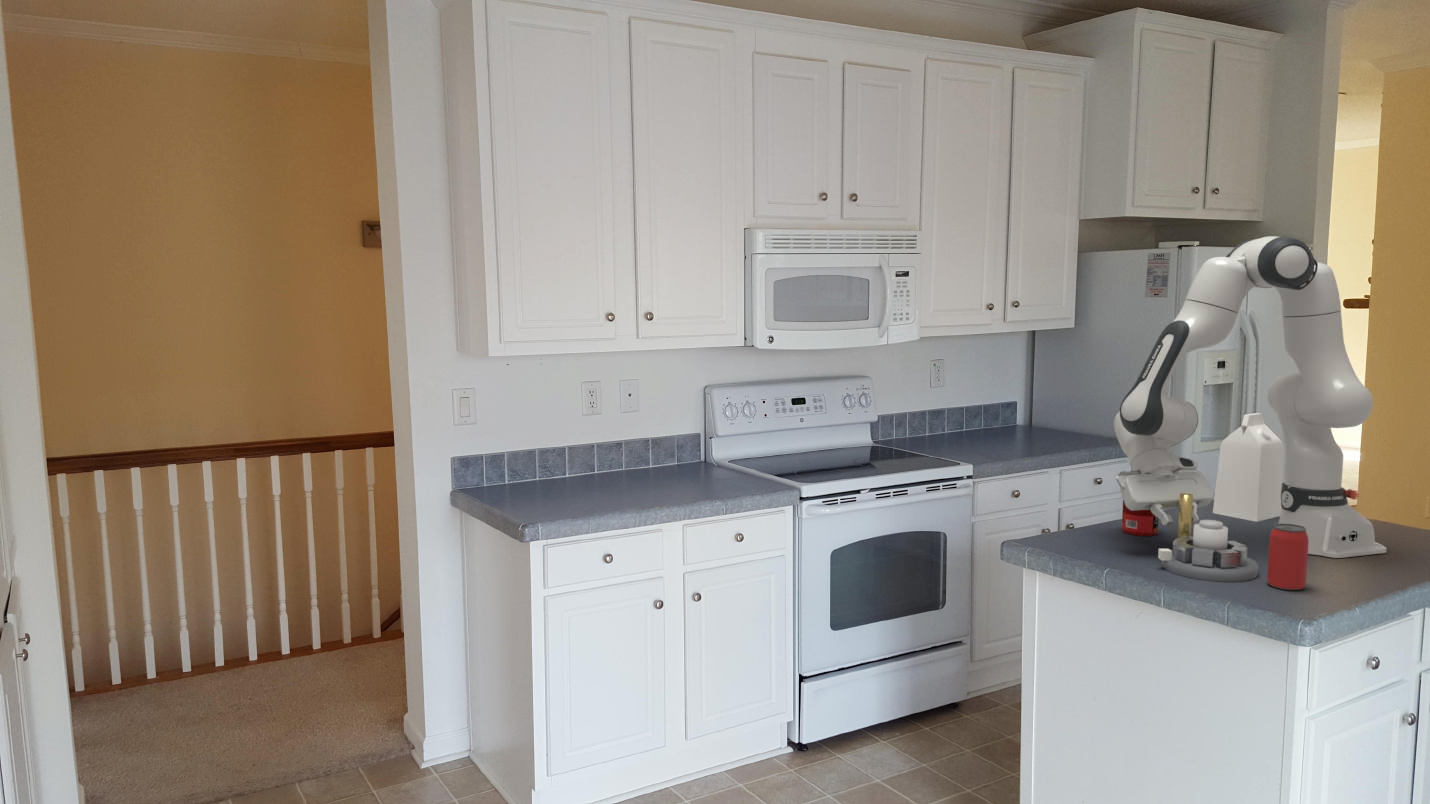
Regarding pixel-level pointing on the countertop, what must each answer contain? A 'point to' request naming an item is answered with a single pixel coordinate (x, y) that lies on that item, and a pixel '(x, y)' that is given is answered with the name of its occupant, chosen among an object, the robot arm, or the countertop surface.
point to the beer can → (1288, 557)
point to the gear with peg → (1201, 556)
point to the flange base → (1212, 571)
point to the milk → (1250, 472)
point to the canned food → (1139, 522)
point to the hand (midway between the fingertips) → (1181, 523)
